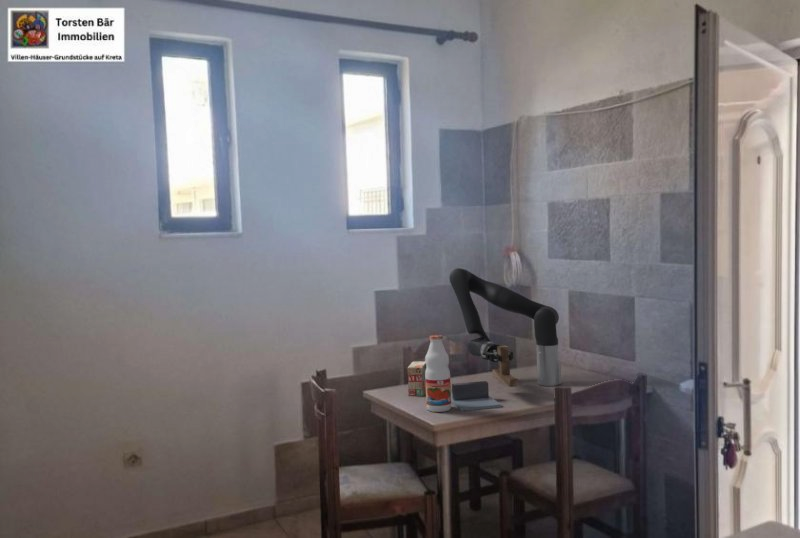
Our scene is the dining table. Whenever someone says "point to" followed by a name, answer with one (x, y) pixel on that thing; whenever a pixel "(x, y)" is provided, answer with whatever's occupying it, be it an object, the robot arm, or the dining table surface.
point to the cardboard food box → (416, 378)
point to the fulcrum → (472, 396)
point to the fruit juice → (437, 376)
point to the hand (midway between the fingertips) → (506, 358)
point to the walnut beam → (504, 368)
